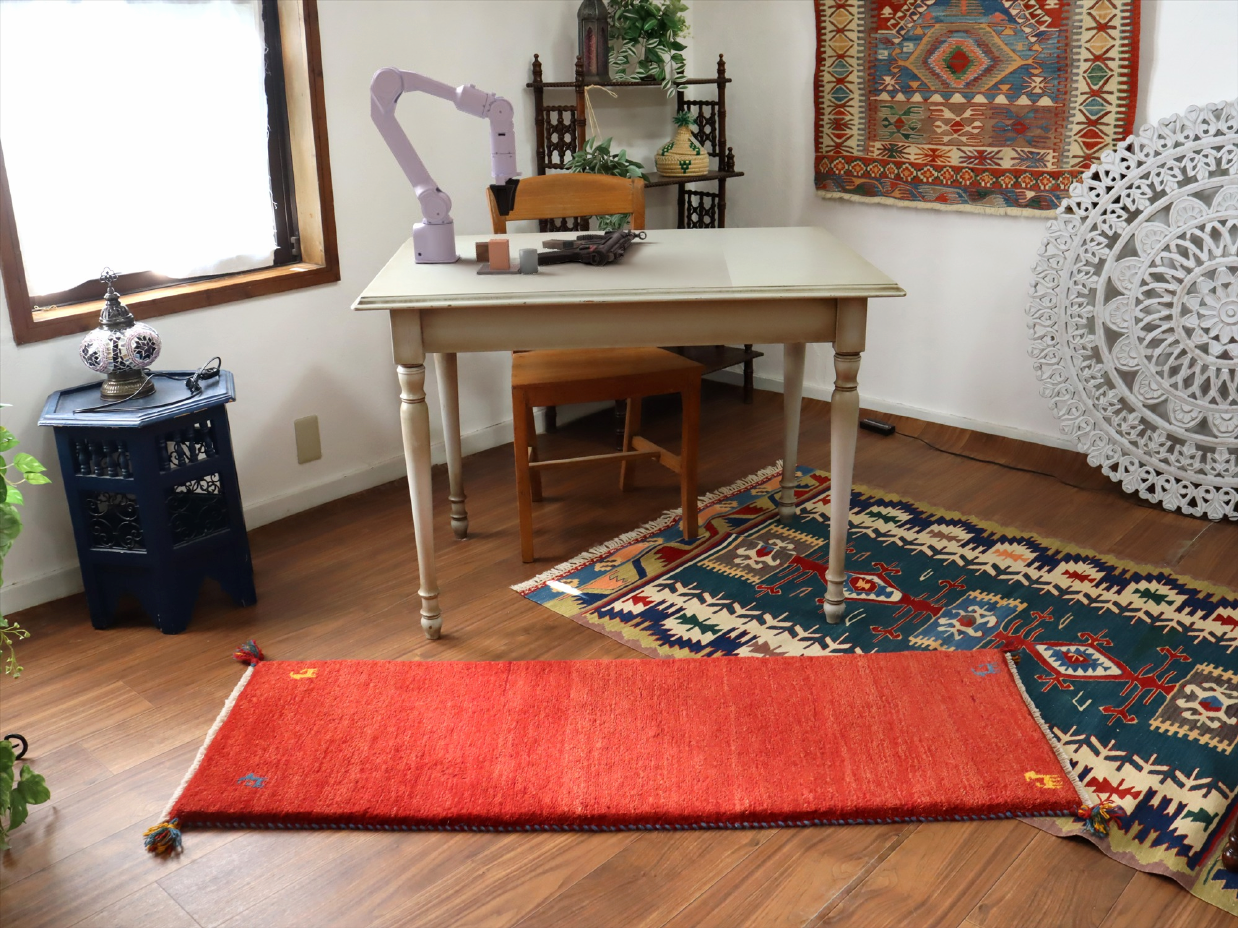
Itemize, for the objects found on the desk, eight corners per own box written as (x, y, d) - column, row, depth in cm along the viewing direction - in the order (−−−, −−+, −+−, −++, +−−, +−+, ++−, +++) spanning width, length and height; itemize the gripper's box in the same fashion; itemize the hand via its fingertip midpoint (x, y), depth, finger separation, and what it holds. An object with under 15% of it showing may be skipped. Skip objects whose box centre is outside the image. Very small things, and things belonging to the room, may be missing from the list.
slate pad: (476, 274, 234) (476, 271, 233) (483, 266, 242) (483, 264, 242) (517, 273, 233) (517, 271, 233) (522, 266, 242) (522, 263, 241)
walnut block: (476, 262, 248) (475, 245, 246) (476, 259, 252) (475, 242, 250) (498, 261, 248) (496, 244, 247) (497, 258, 252) (496, 241, 251)
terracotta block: (490, 269, 236) (488, 242, 233) (492, 265, 239) (490, 239, 237) (507, 269, 235) (506, 242, 233) (510, 265, 239) (508, 238, 237)
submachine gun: (550, 230, 271) (647, 225, 266) (552, 247, 272) (648, 242, 268) (517, 252, 241) (624, 247, 236) (519, 271, 243) (626, 267, 238)
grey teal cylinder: (519, 274, 233) (517, 251, 231) (521, 271, 236) (520, 248, 235) (537, 274, 232) (536, 251, 231) (539, 270, 236) (538, 248, 234)
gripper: (516, 155, 236) (519, 217, 241) (524, 150, 249) (527, 208, 254) (484, 156, 236) (488, 218, 241) (494, 150, 250) (498, 209, 255)
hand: (506, 213), depth 248 cm, fingers open, 7 cm apart
